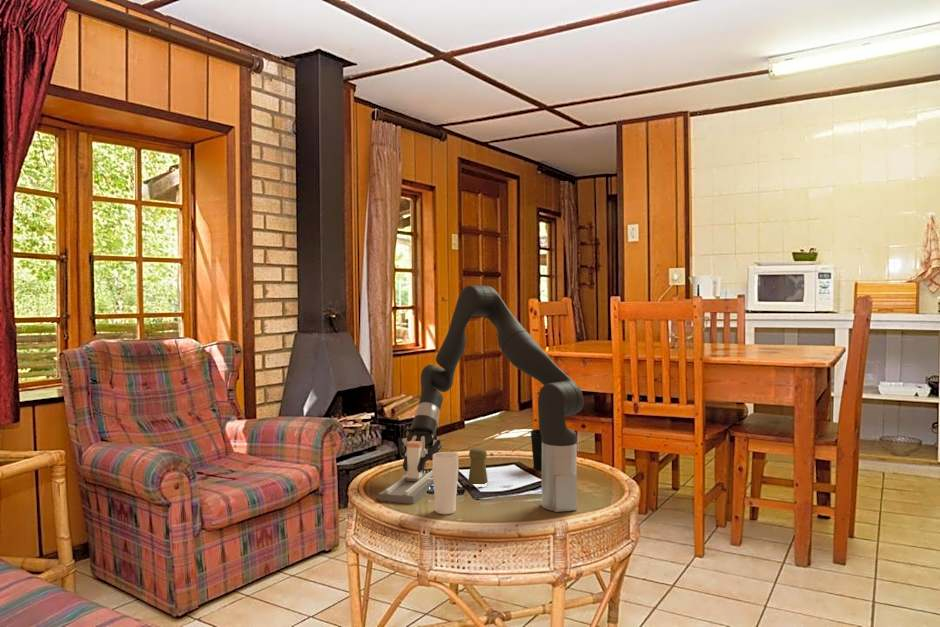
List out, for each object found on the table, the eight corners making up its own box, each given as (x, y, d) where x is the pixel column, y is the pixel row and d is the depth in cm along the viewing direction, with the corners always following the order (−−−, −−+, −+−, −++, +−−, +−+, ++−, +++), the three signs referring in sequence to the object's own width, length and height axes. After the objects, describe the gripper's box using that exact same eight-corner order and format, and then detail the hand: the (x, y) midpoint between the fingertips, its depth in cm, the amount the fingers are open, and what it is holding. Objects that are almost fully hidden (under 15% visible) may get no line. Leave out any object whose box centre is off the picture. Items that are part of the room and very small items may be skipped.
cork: (488, 488, 206) (488, 450, 205) (467, 488, 206) (467, 450, 205) (488, 482, 212) (488, 446, 211) (467, 482, 212) (467, 445, 212)
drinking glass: (430, 515, 181) (430, 457, 180) (435, 507, 188) (434, 451, 187) (456, 516, 180) (456, 458, 180) (460, 508, 187) (460, 452, 186)
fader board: (408, 478, 216) (408, 468, 216) (440, 480, 214) (440, 470, 214) (378, 500, 193) (378, 490, 193) (413, 503, 191) (413, 492, 191)
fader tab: (410, 477, 209) (410, 440, 209) (423, 477, 208) (423, 441, 208) (405, 480, 205) (405, 443, 205) (418, 481, 204) (418, 444, 204)
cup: (525, 468, 229) (525, 431, 228) (541, 464, 234) (541, 428, 233) (543, 472, 223) (543, 435, 222) (559, 468, 228) (559, 431, 227)
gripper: (400, 412, 215) (386, 462, 204) (445, 414, 211) (432, 465, 200) (406, 426, 220) (392, 475, 209) (450, 429, 217) (438, 478, 205)
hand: (412, 470), depth 205 cm, fingers closed on fader tab, 3 cm apart
